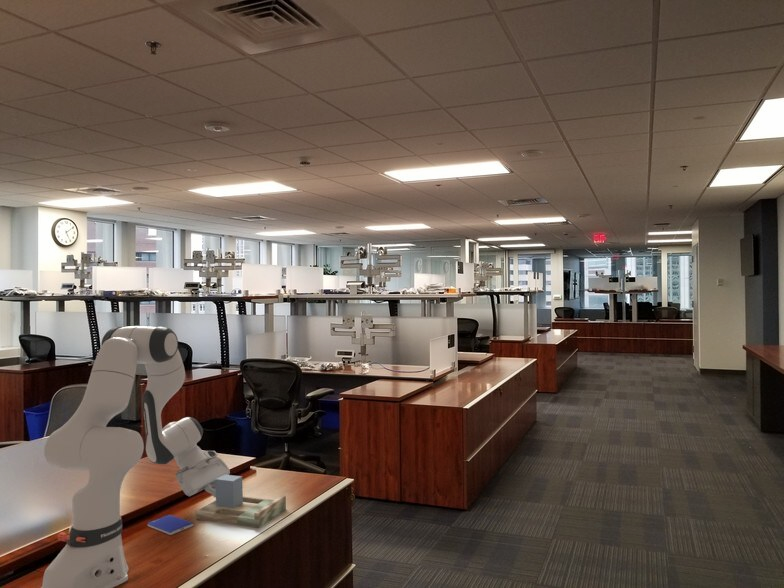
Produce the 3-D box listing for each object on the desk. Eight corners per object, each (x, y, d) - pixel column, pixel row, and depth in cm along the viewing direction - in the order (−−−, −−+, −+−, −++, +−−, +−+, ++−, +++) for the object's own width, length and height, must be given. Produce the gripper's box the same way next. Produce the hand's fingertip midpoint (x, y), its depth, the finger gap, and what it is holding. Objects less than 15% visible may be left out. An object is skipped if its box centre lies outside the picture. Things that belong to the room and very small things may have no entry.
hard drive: (147, 522, 183) (170, 531, 176) (170, 514, 189) (193, 522, 182) (147, 527, 183) (170, 536, 176) (170, 518, 189) (193, 527, 182)
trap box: (258, 527, 179) (258, 513, 179) (196, 518, 188) (195, 505, 188) (286, 509, 194) (285, 495, 194) (226, 501, 202) (226, 488, 202)
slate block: (233, 508, 189) (232, 481, 189) (216, 506, 191) (215, 479, 191) (242, 503, 194) (242, 476, 193) (225, 500, 196) (224, 474, 196)
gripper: (178, 466, 187) (203, 500, 183) (218, 449, 206) (242, 479, 202) (167, 479, 188) (192, 512, 185) (208, 461, 207) (232, 490, 204)
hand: (219, 495), depth 194 cm, fingers closed, pressing on slate block
